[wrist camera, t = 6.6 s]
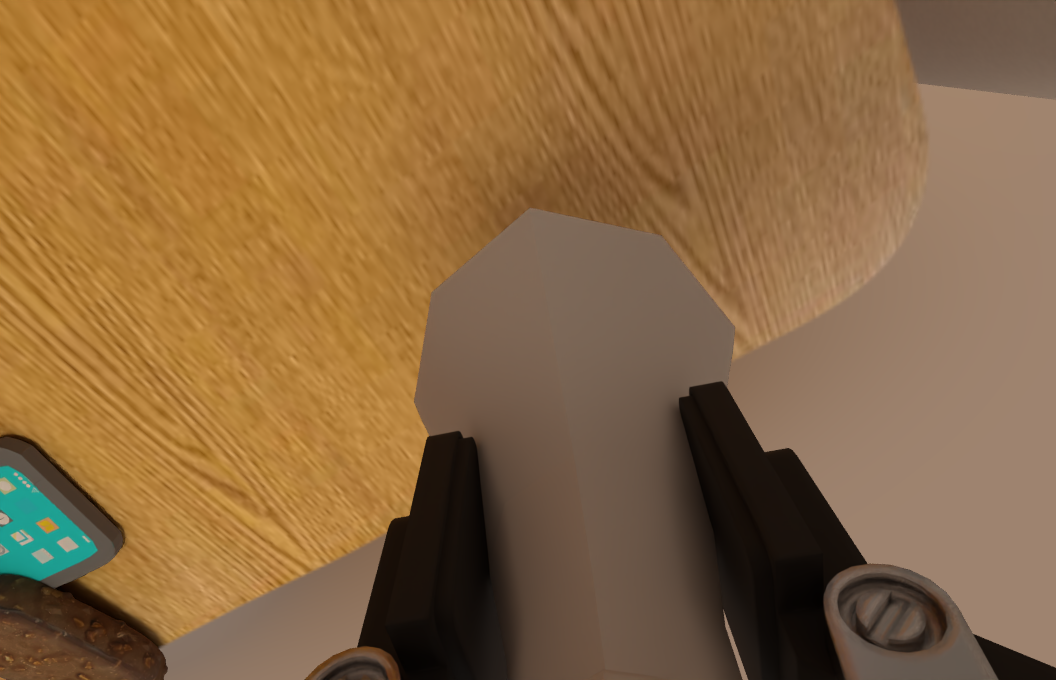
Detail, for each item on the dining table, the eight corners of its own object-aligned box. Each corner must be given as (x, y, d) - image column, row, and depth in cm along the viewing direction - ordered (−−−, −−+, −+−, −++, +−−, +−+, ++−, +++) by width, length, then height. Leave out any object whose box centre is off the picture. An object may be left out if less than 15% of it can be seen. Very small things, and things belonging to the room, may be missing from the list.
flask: (365, 407, 16) (163, 907, 7) (514, 144, 13) (504, 389, 4) (611, 522, 17) (711, 1046, 8) (787, 309, 15) (1203, 741, 6)
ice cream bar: (-87, 536, 30) (190, 674, 36) (-54, 502, 34) (191, 632, 40) (-186, 634, 29) (117, 759, 35) (-140, 587, 33) (125, 707, 39)
